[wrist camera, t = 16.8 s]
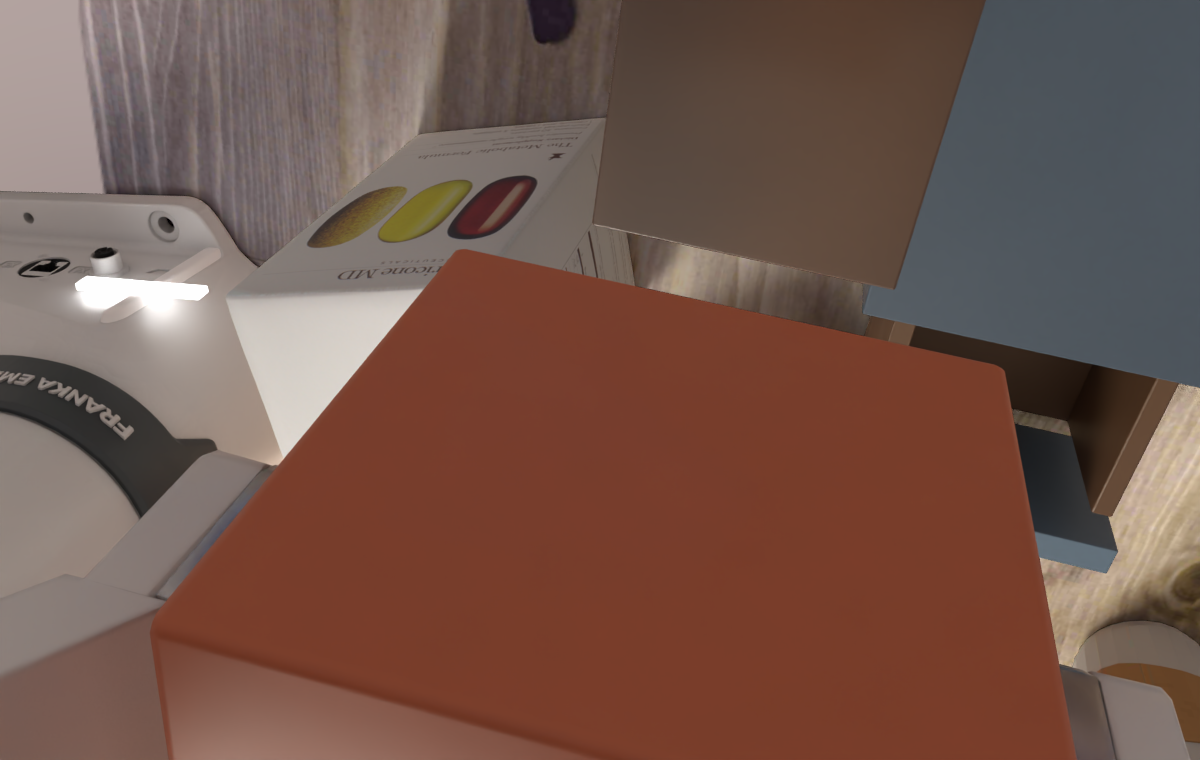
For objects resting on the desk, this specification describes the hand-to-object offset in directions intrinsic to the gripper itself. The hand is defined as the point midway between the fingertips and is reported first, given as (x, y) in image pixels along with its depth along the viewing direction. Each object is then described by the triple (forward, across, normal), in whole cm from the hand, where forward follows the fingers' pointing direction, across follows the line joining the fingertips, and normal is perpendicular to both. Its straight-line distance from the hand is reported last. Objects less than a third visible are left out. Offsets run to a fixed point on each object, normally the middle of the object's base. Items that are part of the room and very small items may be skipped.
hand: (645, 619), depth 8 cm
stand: (+38, 0, 0) cm, 38 cm away
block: (+1, 0, 0) cm, 1 cm away
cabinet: (+38, -10, +4) cm, 39 cm away
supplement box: (+38, +11, +15) cm, 42 cm away
